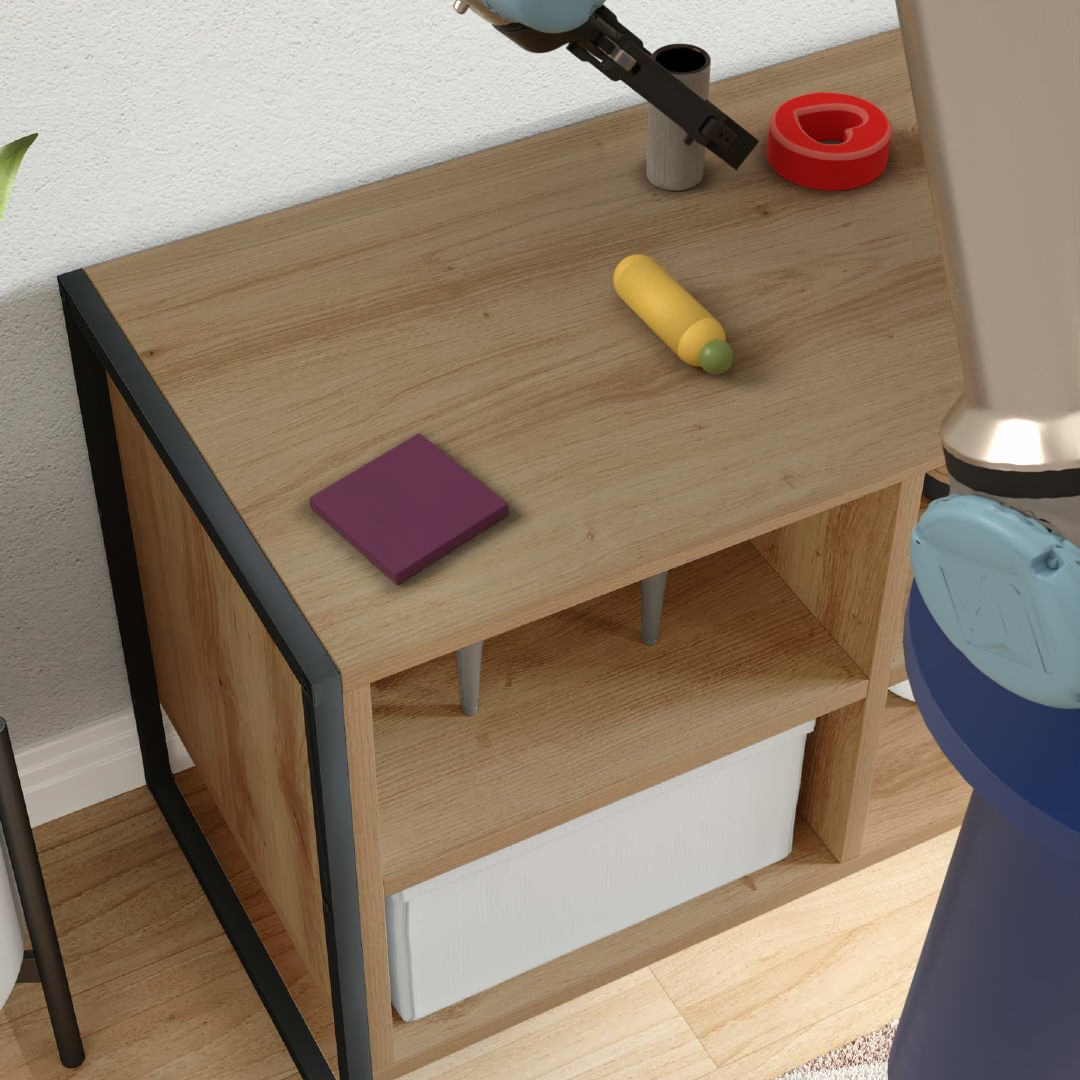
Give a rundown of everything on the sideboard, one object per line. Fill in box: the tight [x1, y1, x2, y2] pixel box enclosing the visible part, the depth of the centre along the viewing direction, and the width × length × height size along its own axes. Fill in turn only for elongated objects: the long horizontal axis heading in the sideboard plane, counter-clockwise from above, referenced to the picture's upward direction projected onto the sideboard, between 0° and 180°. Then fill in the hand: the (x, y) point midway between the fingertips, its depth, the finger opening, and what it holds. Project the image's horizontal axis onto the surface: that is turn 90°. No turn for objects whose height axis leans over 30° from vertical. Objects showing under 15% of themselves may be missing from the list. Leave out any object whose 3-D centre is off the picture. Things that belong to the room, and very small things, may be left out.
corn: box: [612, 253, 734, 375], centre depth 111 cm, size 13×4×4 cm, turn 30°
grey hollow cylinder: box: [645, 43, 712, 192], centre depth 122 cm, size 4×4×10 cm
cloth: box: [308, 432, 509, 586], centre depth 100 cm, size 9×9×1 cm
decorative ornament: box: [766, 91, 893, 191], centre depth 126 cm, size 10×10×3 cm
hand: (695, 111), depth 123 cm, fingers open, 13 cm apart
